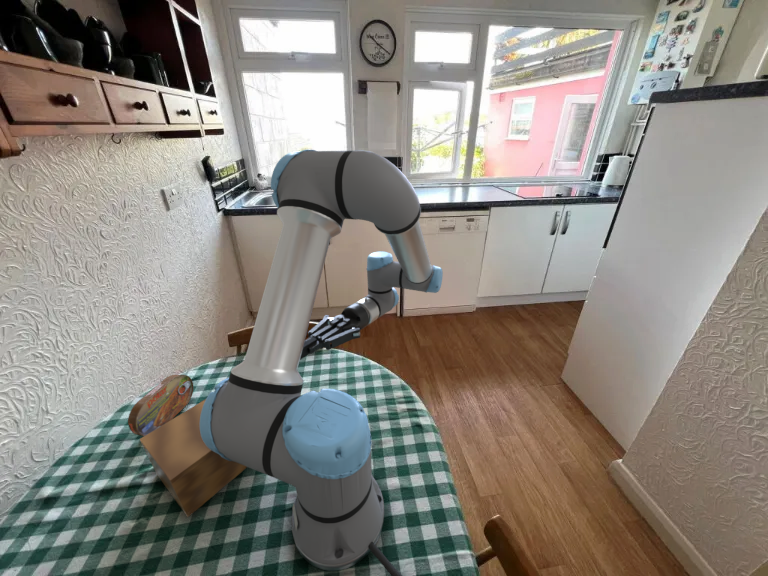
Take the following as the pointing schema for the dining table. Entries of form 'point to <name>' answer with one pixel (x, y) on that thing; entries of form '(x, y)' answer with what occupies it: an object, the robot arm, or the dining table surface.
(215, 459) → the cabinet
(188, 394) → the tin
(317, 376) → the dining table surface
